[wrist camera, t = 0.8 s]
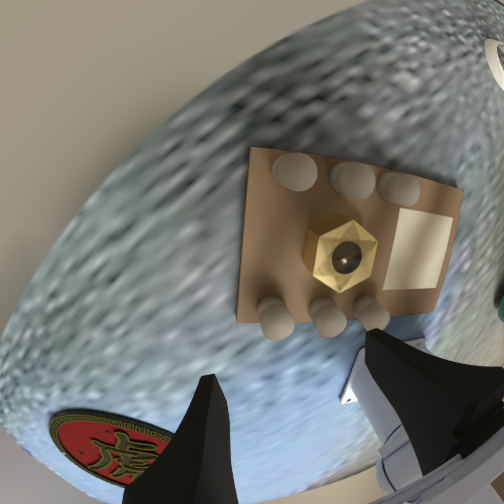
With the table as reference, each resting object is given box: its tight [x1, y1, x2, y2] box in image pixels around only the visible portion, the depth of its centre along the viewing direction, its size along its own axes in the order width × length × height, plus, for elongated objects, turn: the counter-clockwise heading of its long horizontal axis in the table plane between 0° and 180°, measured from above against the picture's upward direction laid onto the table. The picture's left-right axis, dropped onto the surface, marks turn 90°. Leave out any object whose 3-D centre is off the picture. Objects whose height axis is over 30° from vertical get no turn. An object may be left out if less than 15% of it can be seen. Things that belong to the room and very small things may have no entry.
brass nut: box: [302, 213, 378, 293], centre depth 18 cm, size 5×4×2 cm
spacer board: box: [236, 147, 463, 340], centre depth 19 cm, size 20×13×3 cm, turn 85°
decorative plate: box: [49, 409, 174, 488], centre depth 27 cm, size 25×1×25 cm
